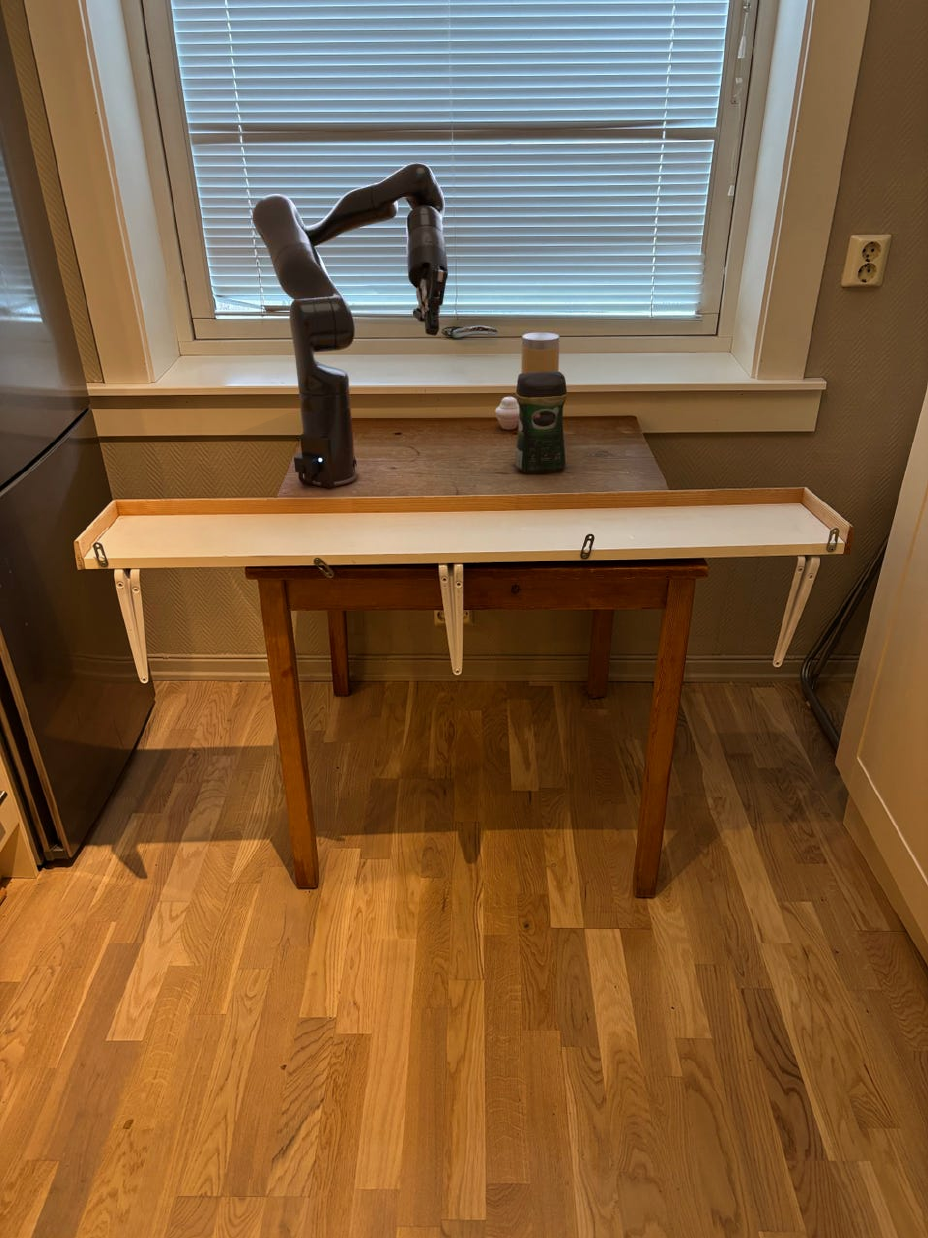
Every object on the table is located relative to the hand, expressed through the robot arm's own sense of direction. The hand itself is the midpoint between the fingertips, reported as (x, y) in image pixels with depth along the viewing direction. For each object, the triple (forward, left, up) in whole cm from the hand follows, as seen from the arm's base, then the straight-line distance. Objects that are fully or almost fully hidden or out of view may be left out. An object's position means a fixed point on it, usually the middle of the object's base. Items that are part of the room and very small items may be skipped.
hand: (432, 332), depth 167 cm
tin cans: (+24, -11, -26) cm, 37 cm away
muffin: (+30, 0, -26) cm, 40 cm away
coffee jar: (+10, -18, -26) cm, 33 cm away
